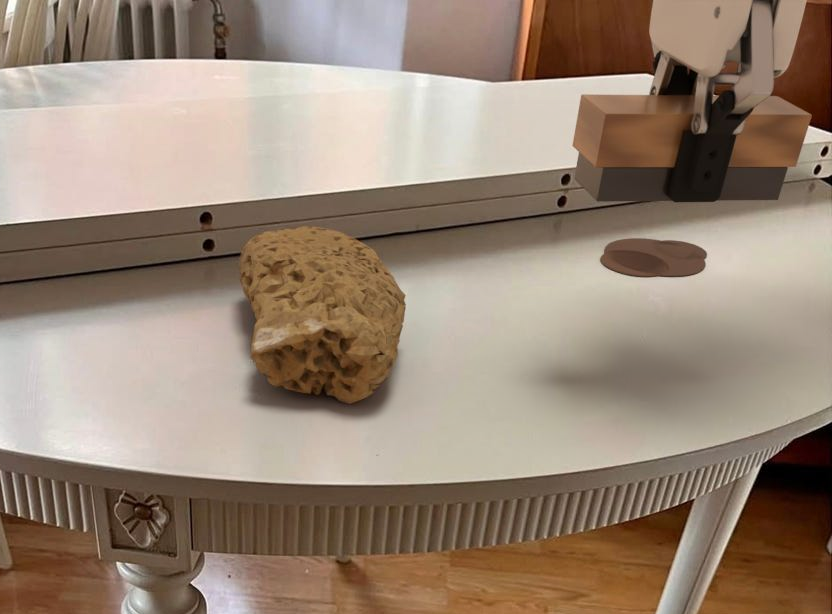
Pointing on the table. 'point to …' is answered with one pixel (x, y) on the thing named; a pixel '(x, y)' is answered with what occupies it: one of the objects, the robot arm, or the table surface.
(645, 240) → the coffee spill
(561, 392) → the table surface
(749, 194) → the brush
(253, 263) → the sponge
